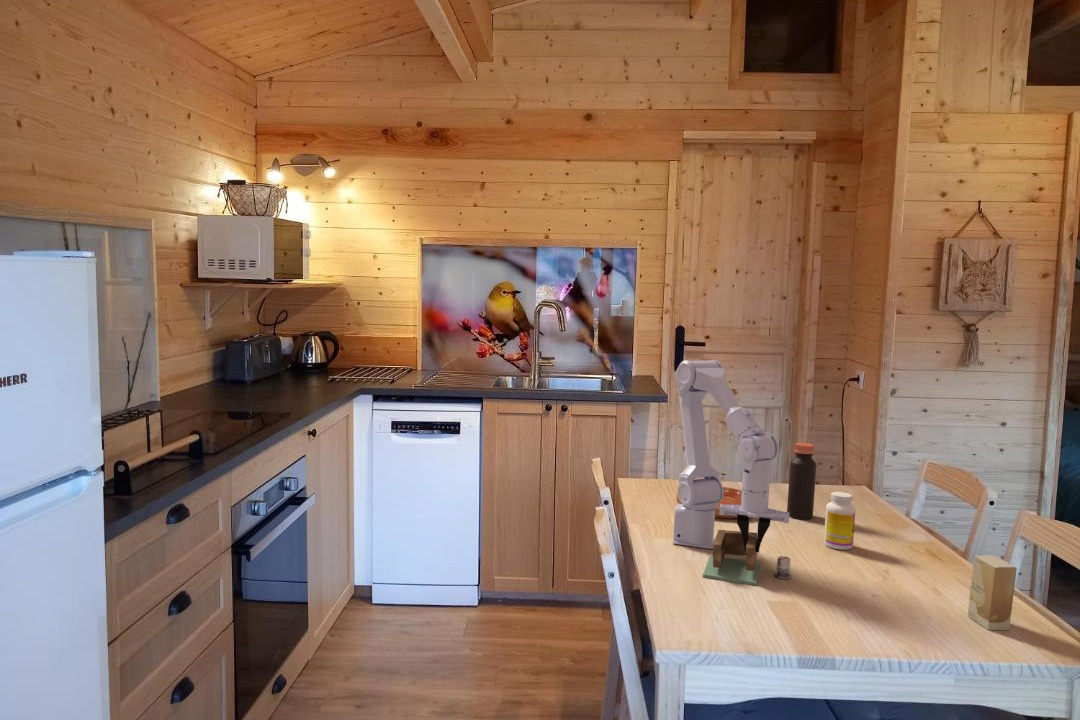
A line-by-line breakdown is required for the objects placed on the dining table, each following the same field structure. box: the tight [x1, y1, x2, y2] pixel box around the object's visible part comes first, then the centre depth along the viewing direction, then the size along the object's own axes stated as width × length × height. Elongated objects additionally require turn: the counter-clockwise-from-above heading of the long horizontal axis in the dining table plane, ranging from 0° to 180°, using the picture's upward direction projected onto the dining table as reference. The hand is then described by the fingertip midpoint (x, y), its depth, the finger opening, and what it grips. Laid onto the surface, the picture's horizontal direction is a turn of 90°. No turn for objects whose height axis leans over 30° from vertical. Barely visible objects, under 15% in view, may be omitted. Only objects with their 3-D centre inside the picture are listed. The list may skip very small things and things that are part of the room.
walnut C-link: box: [712, 529, 758, 571], centre depth 163 cm, size 8×11×5 cm
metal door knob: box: [774, 555, 792, 581], centre depth 160 cm, size 3×3×4 cm
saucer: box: [675, 486, 742, 519], centre depth 210 cm, size 23×23×4 cm
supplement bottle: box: [823, 491, 856, 551], centre depth 181 cm, size 7×7×13 cm
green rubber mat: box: [702, 554, 761, 586], centre depth 163 cm, size 11×13×1 cm
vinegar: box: [786, 442, 817, 521], centre depth 204 cm, size 7×7×20 cm
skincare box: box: [967, 554, 1017, 631], centre depth 140 cm, size 6×4×12 cm
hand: (751, 550), depth 164 cm, fingers closed on walnut C-link
